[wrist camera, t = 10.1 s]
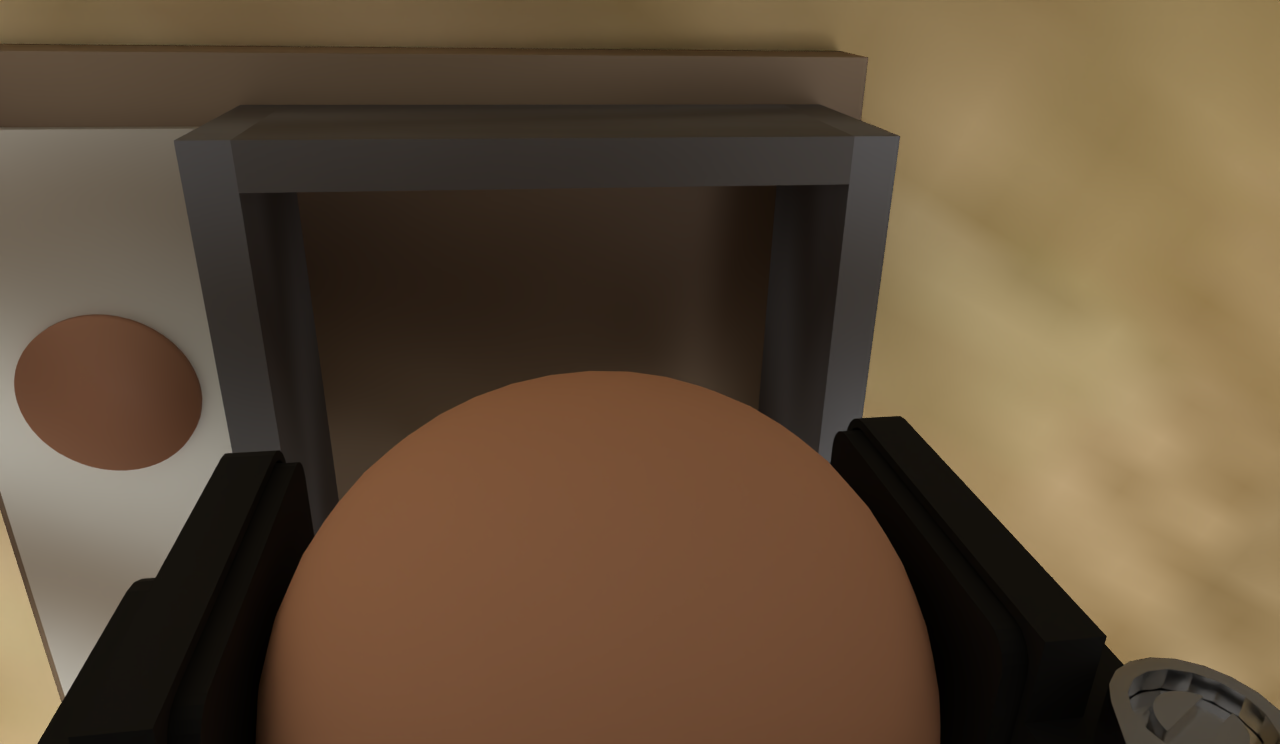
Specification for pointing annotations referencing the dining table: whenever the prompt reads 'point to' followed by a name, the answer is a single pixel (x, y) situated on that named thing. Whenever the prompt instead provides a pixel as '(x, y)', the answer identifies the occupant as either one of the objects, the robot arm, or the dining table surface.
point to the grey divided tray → (395, 263)
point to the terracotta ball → (600, 585)
